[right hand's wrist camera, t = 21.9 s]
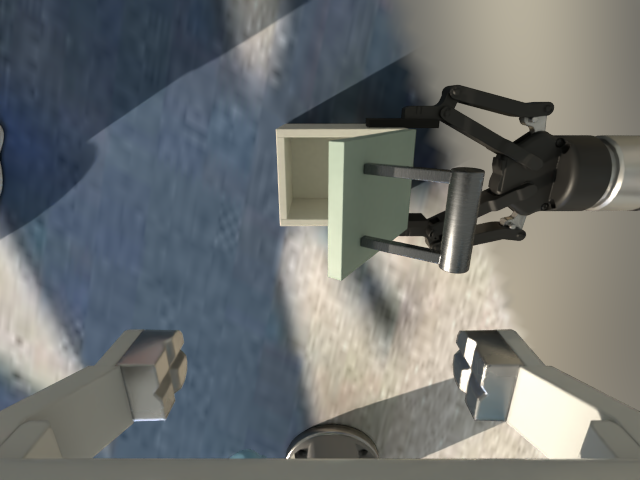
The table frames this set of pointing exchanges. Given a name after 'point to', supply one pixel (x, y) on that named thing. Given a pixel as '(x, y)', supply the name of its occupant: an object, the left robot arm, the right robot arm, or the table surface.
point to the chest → (309, 169)
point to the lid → (393, 203)
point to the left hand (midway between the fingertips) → (365, 174)
